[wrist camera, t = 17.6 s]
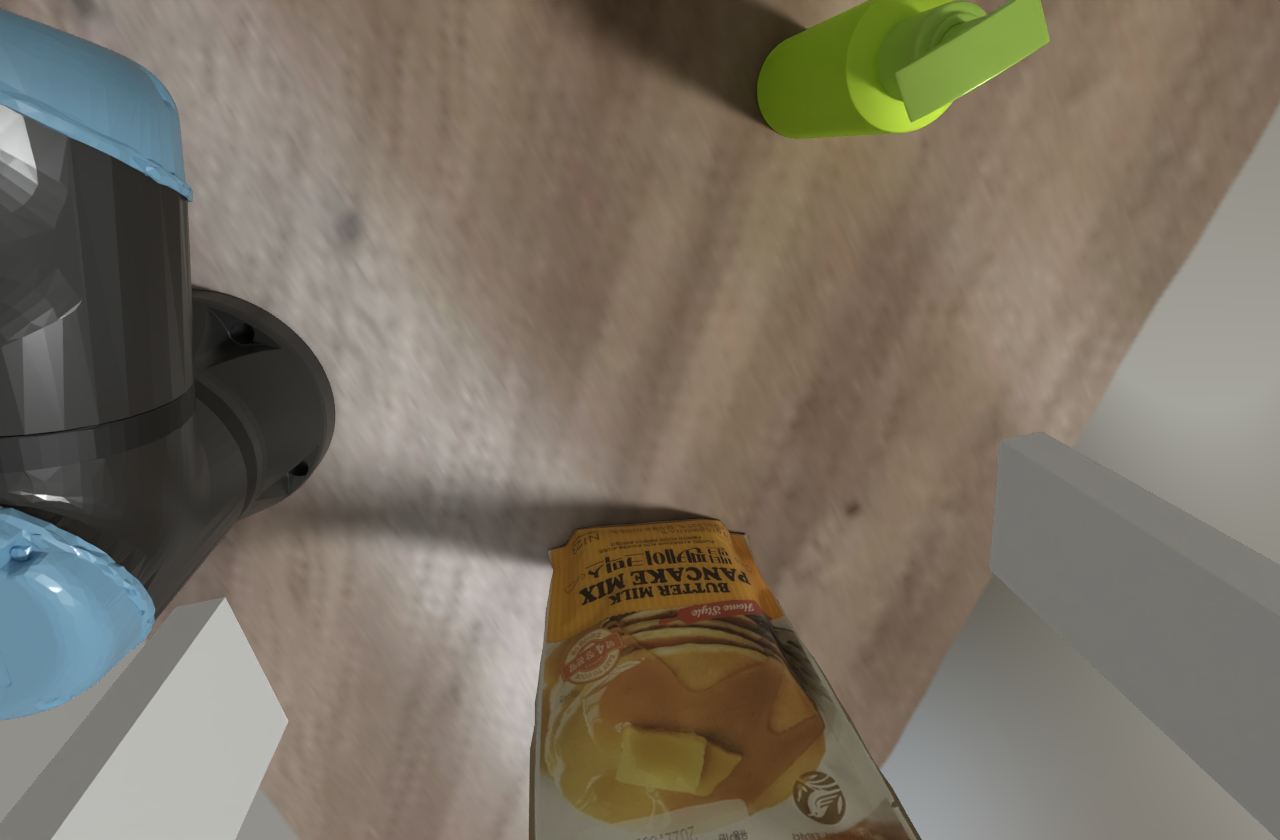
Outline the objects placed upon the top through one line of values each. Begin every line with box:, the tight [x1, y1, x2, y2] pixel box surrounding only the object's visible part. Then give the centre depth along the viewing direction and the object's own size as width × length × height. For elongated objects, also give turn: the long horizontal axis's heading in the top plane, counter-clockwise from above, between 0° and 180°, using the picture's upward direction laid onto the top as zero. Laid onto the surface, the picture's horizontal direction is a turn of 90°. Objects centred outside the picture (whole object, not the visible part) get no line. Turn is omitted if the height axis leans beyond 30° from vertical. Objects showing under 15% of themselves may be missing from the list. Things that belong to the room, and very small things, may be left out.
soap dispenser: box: [757, 0, 1050, 139], centre depth 32 cm, size 6×7×20 cm
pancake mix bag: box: [529, 518, 922, 840], centre depth 40 cm, size 7×19×28 cm, turn 90°
